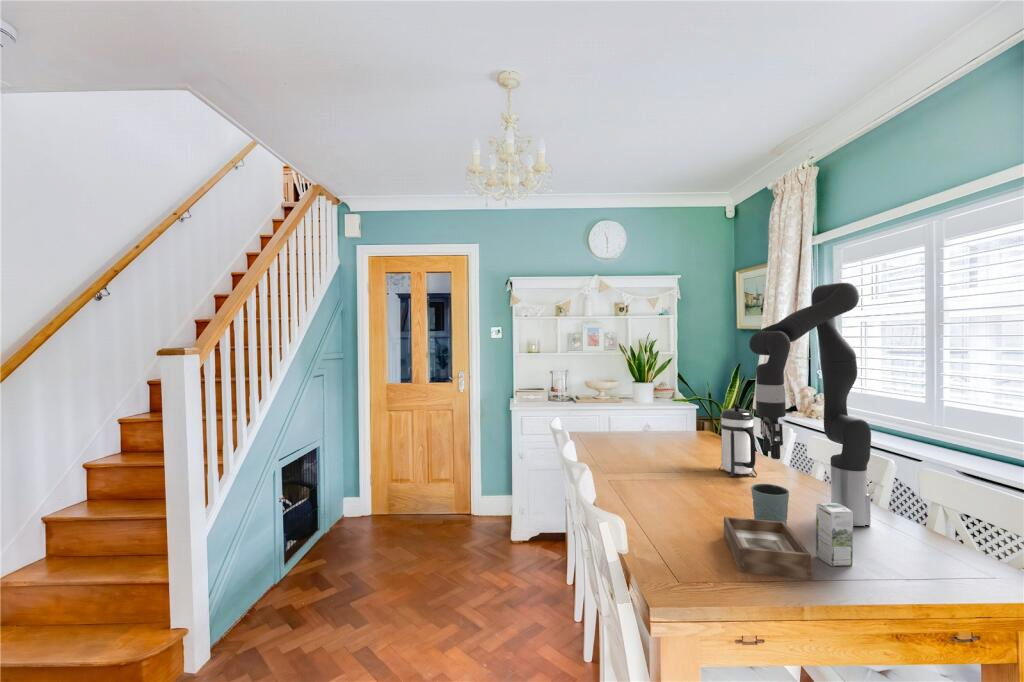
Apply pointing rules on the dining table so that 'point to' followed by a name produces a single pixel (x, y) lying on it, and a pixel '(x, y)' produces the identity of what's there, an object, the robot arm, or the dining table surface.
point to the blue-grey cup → (770, 502)
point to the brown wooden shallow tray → (766, 548)
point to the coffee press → (737, 441)
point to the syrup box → (834, 534)
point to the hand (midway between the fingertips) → (771, 454)
